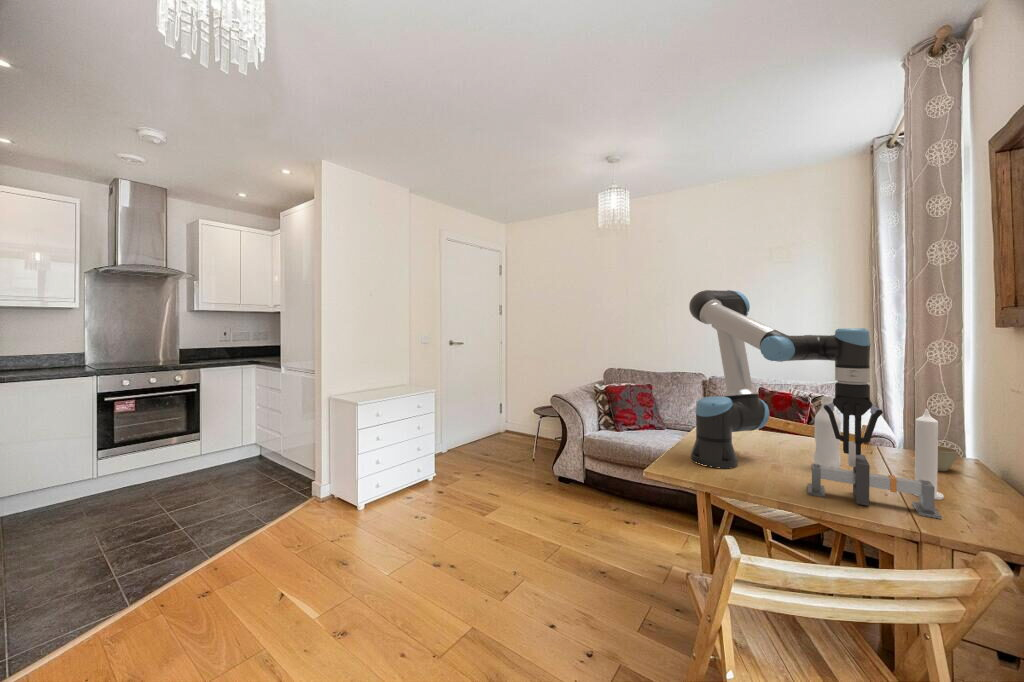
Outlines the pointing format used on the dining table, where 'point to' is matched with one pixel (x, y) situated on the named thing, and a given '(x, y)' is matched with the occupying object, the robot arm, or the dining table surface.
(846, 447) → the robot arm
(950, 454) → the flower pot
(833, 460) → the water bottle
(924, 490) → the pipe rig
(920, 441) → the candle
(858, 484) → the collar
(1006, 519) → the dining table surface
